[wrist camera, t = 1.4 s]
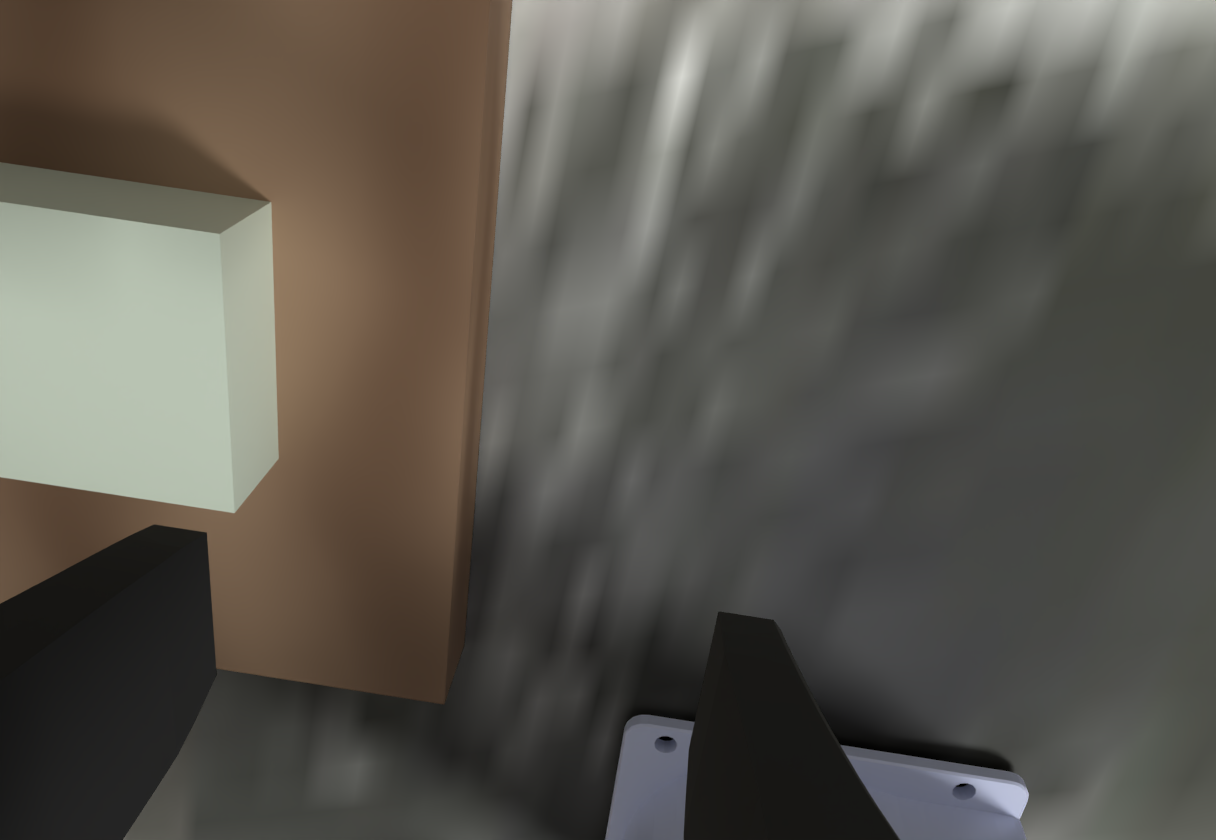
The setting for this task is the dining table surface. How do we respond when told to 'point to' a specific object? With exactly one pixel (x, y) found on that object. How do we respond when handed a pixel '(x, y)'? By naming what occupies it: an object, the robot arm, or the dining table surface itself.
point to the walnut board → (302, 300)
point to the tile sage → (136, 338)
